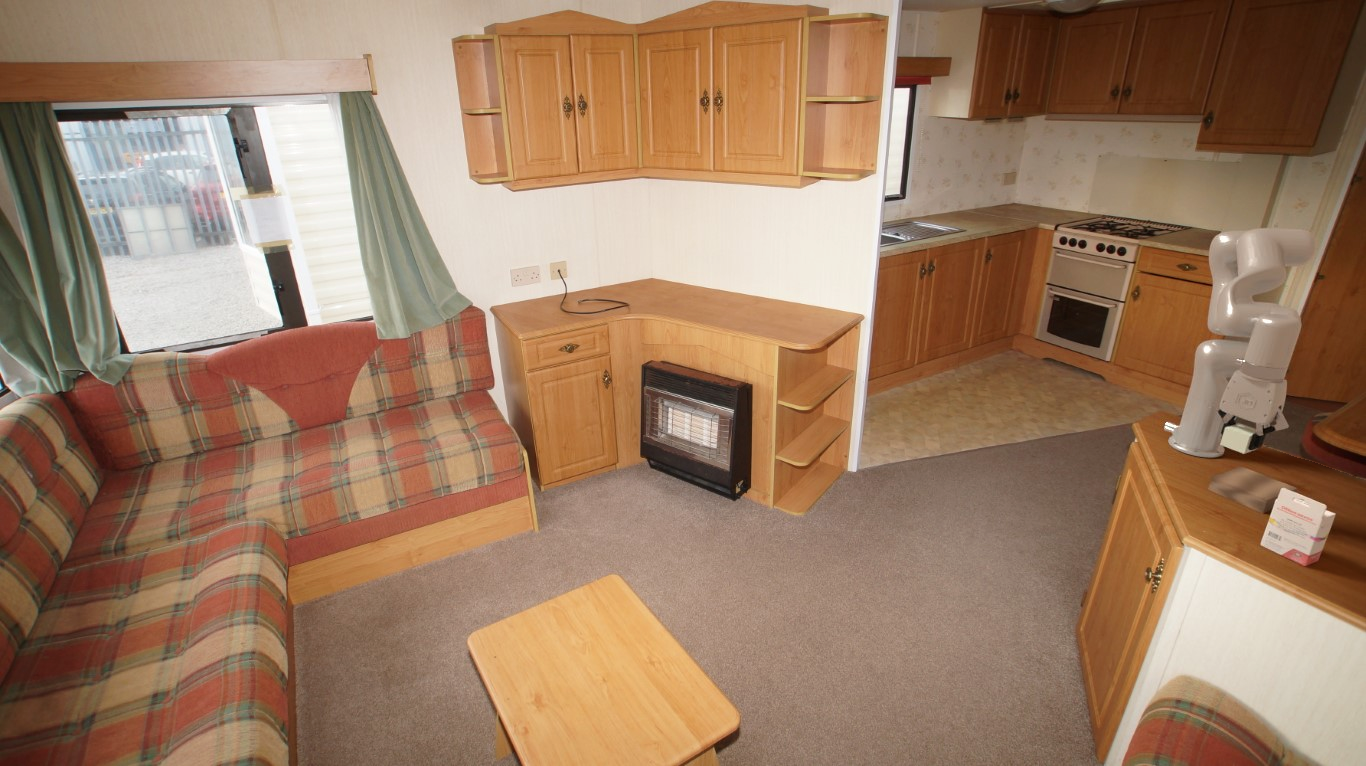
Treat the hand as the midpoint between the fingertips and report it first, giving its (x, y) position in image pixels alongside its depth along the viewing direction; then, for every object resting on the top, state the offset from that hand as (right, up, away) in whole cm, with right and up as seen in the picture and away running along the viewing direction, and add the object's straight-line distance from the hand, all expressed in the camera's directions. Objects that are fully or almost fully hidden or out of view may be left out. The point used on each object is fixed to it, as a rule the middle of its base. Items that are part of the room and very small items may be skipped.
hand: (1239, 442), depth 152 cm
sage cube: (0, -1, 0) cm, 1 cm away
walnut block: (+12, -14, +11) cm, 21 cm away
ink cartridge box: (+2, -23, -10) cm, 25 cm away
